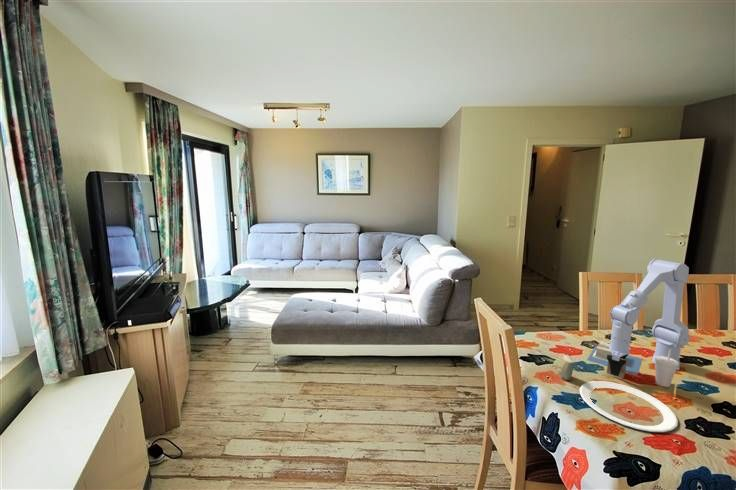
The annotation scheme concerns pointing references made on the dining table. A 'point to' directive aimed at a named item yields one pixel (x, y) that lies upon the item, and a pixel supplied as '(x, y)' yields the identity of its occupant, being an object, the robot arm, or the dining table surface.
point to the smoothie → (665, 369)
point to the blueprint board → (632, 361)
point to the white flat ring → (669, 417)
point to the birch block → (603, 351)
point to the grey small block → (565, 368)
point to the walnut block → (622, 371)
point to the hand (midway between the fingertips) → (616, 370)
